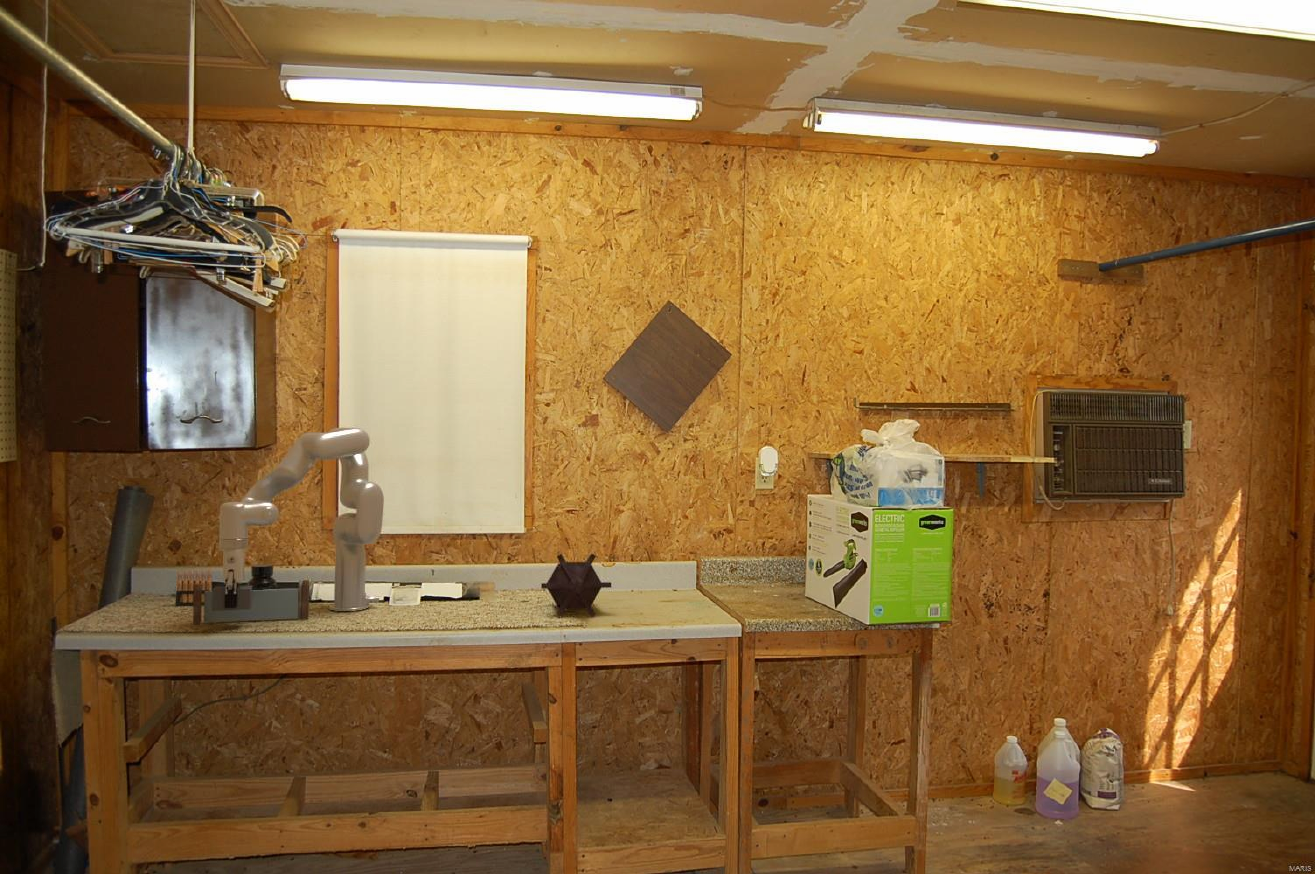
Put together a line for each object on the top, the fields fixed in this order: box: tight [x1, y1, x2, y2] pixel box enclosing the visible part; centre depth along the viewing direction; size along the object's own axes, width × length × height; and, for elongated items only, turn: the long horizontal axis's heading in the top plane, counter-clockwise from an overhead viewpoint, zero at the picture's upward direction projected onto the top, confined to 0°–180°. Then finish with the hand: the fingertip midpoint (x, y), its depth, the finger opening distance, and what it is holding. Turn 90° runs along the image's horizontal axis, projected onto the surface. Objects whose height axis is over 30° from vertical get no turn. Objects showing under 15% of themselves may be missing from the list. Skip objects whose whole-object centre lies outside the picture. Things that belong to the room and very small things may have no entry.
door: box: [203, 587, 299, 623], centre depth 256 cm, size 26×2×9 cm, turn 108°
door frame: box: [192, 579, 310, 627], centre depth 256 cm, size 32×2×12 cm, turn 111°
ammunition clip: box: [174, 568, 213, 607], centre depth 277 cm, size 11×2×12 cm, turn 105°
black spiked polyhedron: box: [540, 553, 612, 618], centre depth 279 cm, size 21×23×30 cm
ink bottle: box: [247, 563, 277, 588], centre depth 288 cm, size 10×9×12 cm
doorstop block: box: [212, 585, 253, 611], centre depth 247 cm, size 10×6×6 cm, turn 110°
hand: (232, 604), depth 247 cm, fingers closed on doorstop block, 6 cm apart
